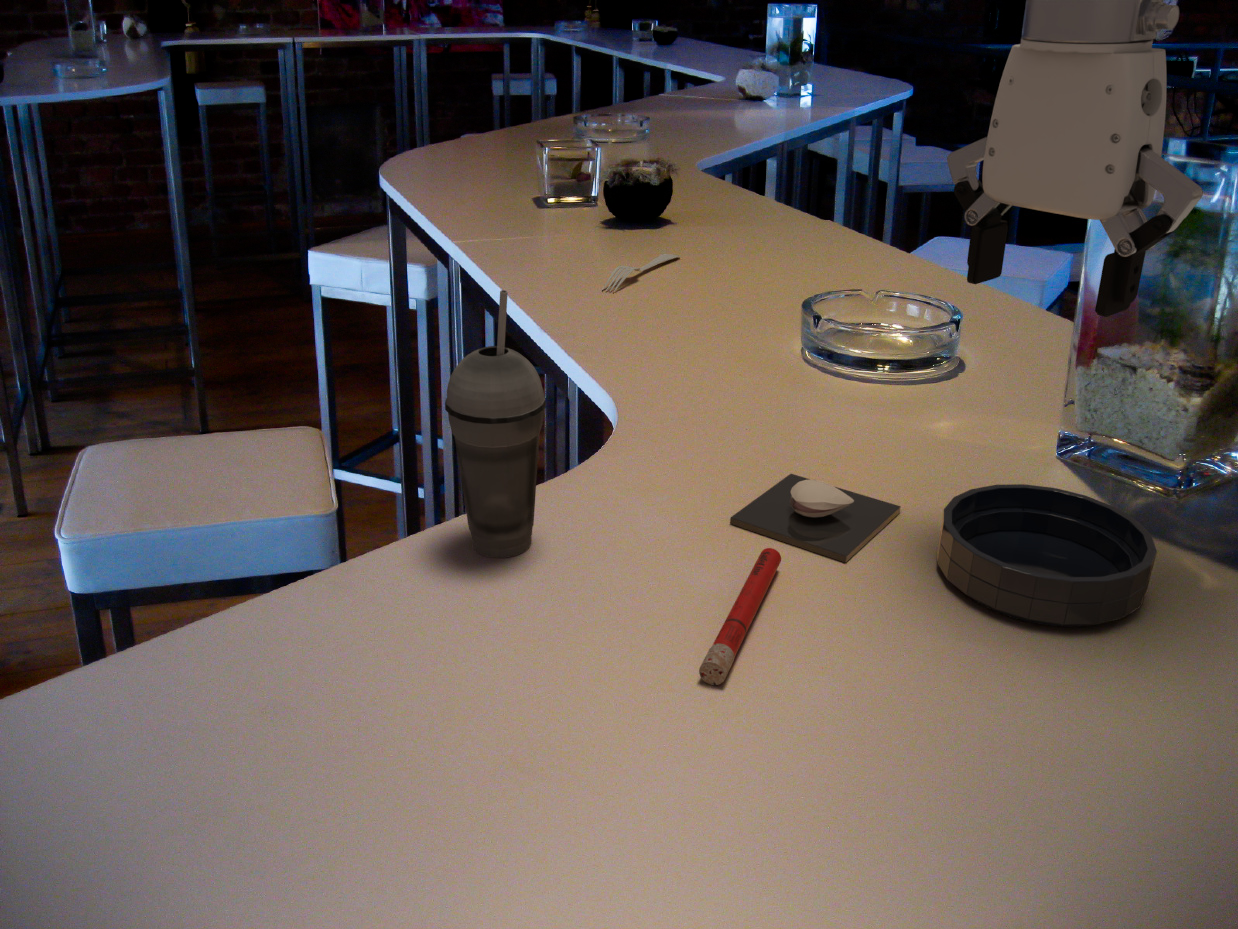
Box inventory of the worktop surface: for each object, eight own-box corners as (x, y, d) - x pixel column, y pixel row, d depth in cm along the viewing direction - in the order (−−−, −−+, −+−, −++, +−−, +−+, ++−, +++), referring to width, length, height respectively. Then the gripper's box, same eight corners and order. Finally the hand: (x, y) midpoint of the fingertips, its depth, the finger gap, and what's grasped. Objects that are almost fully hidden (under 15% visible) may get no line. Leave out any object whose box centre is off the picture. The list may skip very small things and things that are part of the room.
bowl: (1008, 512, 88) (1016, 468, 86) (1181, 586, 78) (1194, 537, 76) (896, 568, 80) (903, 520, 78) (1073, 658, 70) (1085, 605, 68)
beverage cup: (497, 511, 87) (486, 267, 79) (568, 538, 84) (565, 285, 75) (433, 547, 82) (414, 290, 73) (506, 578, 78) (494, 310, 70)
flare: (698, 681, 67) (699, 659, 67) (758, 566, 80) (760, 546, 79) (724, 688, 67) (725, 665, 66) (780, 570, 79) (782, 550, 79)
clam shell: (788, 498, 88) (790, 470, 87) (850, 502, 88) (854, 474, 87) (789, 523, 85) (791, 495, 84) (854, 528, 84) (857, 499, 83)
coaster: (790, 479, 93) (790, 473, 93) (900, 512, 88) (900, 506, 87) (729, 523, 86) (730, 517, 86) (845, 563, 80) (846, 556, 80)
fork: (682, 273, 160) (683, 254, 159) (616, 293, 143) (618, 272, 142) (664, 271, 161) (666, 252, 160) (598, 290, 144) (599, 269, 143)
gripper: (1264, 25, 62) (1199, 314, 69) (1001, 15, 74) (970, 260, 82) (1199, 33, 58) (1138, 339, 65) (932, 20, 70) (906, 278, 78)
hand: (1044, 295), depth 73 cm, fingers open, 9 cm apart
